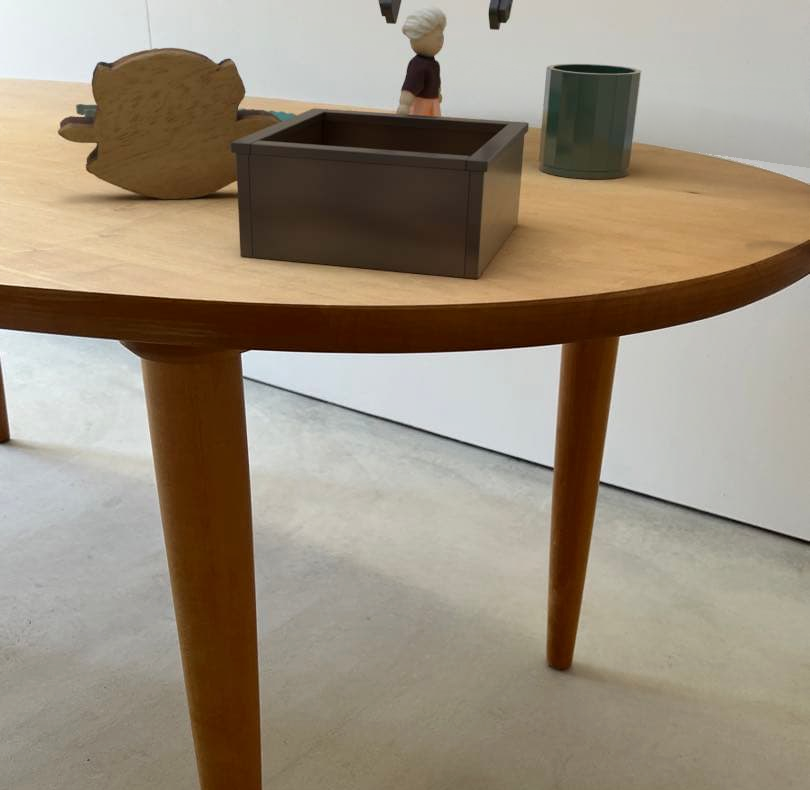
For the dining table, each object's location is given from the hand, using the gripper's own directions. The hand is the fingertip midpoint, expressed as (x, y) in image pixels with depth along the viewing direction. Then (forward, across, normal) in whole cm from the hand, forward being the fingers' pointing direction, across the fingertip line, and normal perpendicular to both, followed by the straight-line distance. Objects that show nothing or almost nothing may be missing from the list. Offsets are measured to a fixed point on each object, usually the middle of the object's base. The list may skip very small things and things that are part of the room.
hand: (441, 19), depth 88 cm
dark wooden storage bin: (+26, +3, -10) cm, 28 cm away
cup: (+6, +12, +10) cm, 17 cm away
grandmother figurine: (+13, 0, +4) cm, 13 cm away
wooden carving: (+21, -15, -5) cm, 26 cm away
